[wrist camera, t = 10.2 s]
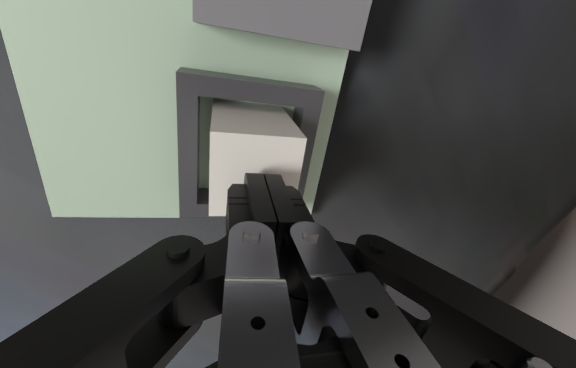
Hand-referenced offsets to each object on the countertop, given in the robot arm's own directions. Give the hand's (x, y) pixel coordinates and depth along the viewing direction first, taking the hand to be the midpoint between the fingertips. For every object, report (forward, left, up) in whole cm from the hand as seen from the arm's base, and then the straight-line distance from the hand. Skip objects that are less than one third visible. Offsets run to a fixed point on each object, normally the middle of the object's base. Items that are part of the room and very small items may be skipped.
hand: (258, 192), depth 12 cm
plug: (0, 0, -7) cm, 7 cm away
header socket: (0, 0, -7) cm, 7 cm away
